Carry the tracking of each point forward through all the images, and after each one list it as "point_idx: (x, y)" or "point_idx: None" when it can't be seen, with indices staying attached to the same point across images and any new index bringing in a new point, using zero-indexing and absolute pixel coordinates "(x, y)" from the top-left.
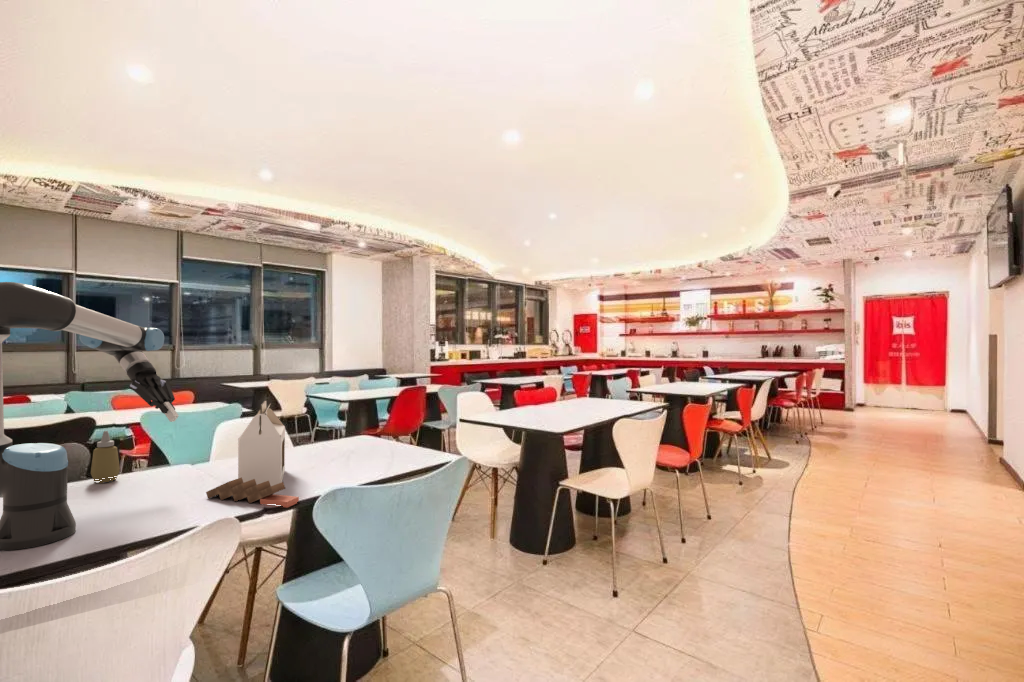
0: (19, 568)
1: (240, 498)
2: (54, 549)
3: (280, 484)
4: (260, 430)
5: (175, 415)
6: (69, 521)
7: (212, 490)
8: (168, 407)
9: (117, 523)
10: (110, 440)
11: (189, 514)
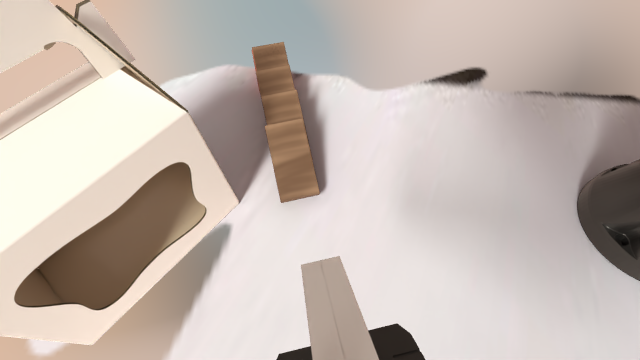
0: (636, 109)
1: None
2: (601, 143)
3: (260, 47)
4: (131, 56)
5: (329, 262)
6: (606, 176)
7: (314, 173)
8: (366, 328)
9: (504, 188)
10: None
11: (391, 133)
